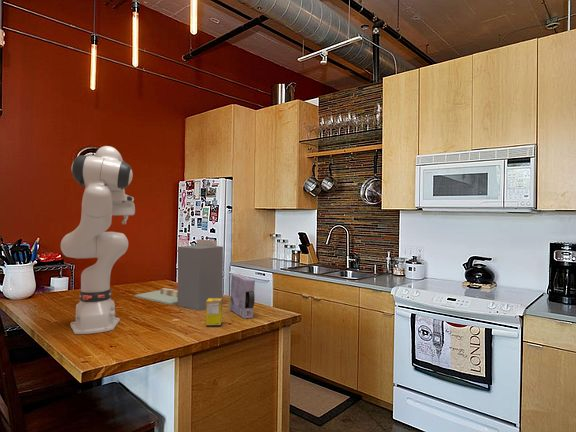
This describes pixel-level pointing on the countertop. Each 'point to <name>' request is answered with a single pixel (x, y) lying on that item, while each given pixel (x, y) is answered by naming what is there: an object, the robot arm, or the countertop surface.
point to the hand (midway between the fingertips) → (115, 224)
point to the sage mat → (158, 297)
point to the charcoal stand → (199, 275)
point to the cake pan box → (242, 296)
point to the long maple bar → (169, 292)
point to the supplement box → (214, 312)
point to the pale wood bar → (207, 243)
